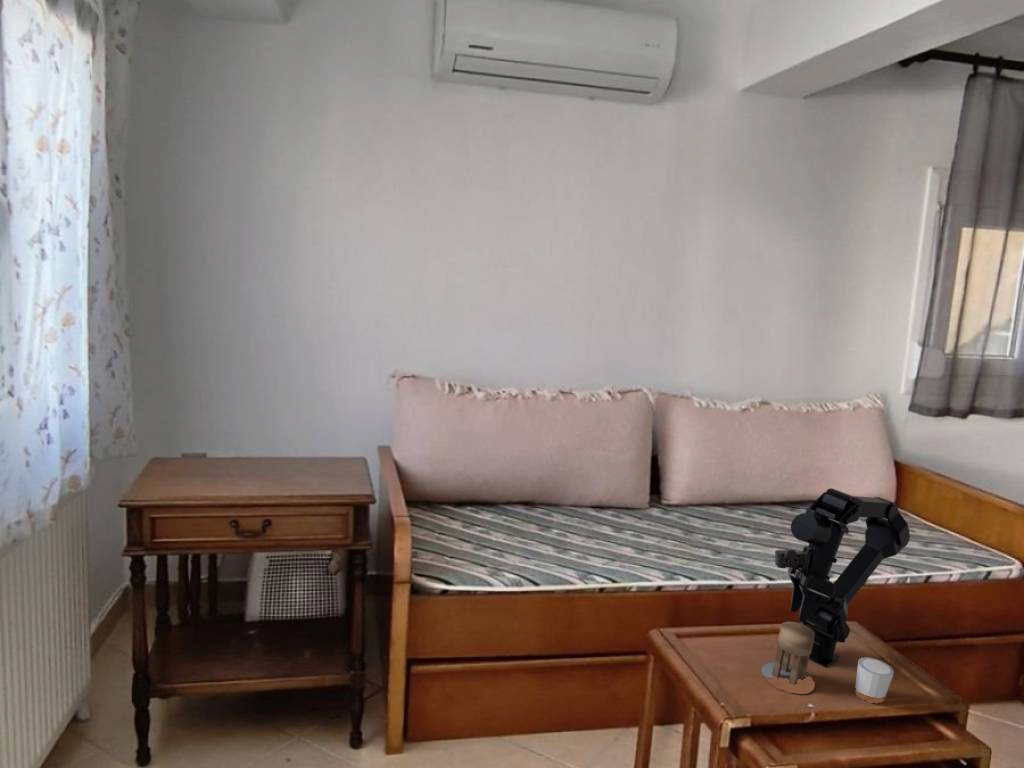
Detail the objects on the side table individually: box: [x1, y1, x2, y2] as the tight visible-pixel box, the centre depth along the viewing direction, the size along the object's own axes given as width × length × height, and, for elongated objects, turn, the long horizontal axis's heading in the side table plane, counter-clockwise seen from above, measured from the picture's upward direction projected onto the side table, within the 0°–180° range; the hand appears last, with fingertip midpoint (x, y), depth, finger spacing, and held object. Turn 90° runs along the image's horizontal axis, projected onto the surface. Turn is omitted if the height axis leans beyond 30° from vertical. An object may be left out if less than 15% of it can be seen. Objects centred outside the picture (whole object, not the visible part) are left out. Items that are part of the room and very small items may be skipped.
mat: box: [760, 661, 811, 680], centre depth 168 cm, size 11×11×1 cm
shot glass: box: [854, 656, 895, 698], centre depth 164 cm, size 7×7×7 cm
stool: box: [772, 621, 815, 685], centre depth 166 cm, size 7×7×11 cm
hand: (796, 616), depth 167 cm, fingers open, 9 cm apart
